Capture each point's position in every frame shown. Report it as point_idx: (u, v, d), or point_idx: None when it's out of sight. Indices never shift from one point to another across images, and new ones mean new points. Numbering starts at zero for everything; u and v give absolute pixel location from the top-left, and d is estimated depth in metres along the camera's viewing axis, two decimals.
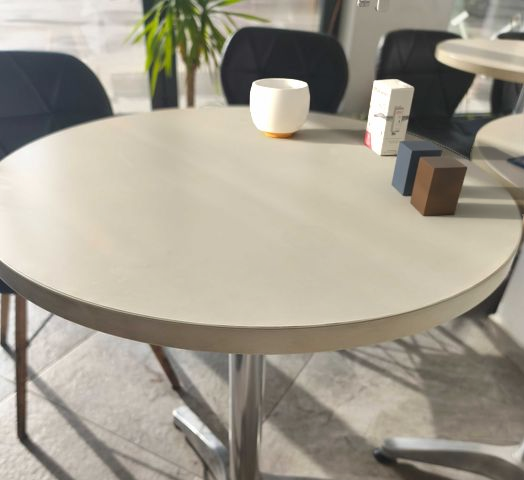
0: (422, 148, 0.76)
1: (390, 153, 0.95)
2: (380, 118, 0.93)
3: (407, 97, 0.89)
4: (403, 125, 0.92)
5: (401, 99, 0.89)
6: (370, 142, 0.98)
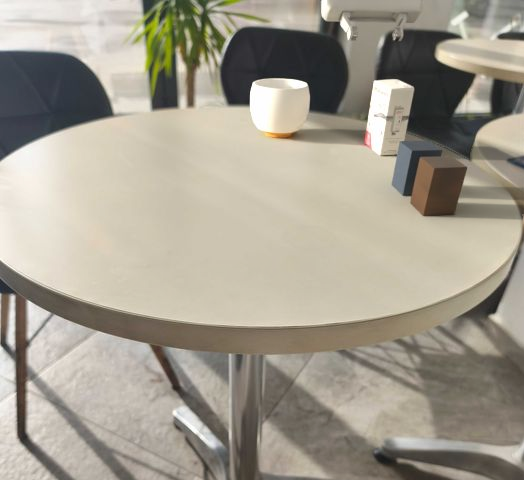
0: (422, 148, 0.76)
1: (390, 153, 0.95)
2: (380, 118, 0.93)
3: (407, 97, 0.89)
4: (403, 125, 0.92)
5: (401, 99, 0.89)
6: (370, 142, 0.98)
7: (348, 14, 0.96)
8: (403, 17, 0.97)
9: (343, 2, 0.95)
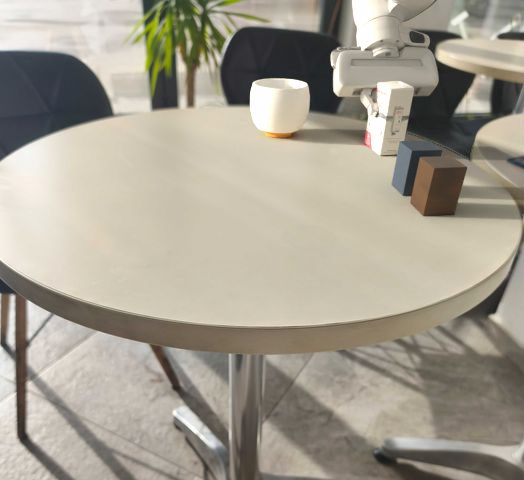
0: (422, 148, 0.76)
1: (390, 153, 0.95)
2: (380, 118, 0.93)
3: (407, 97, 0.89)
4: (403, 125, 0.92)
5: (400, 99, 0.89)
6: (370, 142, 0.98)
7: (369, 90, 0.93)
8: None
9: (356, 79, 0.92)
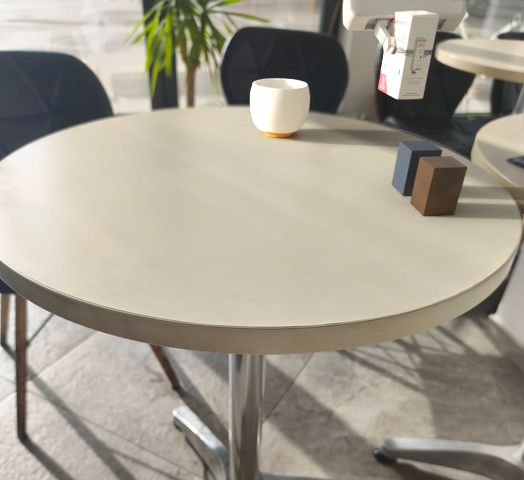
0: (422, 148, 0.76)
1: (409, 97, 0.82)
2: (398, 54, 0.79)
3: (431, 26, 0.76)
4: (425, 62, 0.79)
5: (423, 29, 0.76)
6: (385, 85, 0.85)
7: (385, 22, 0.79)
8: None
9: (370, 7, 0.79)
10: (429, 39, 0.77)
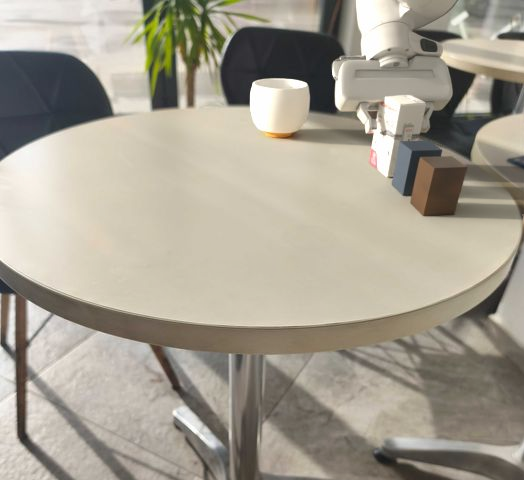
0: (422, 148, 0.76)
1: None
2: (387, 136, 0.83)
3: (418, 113, 0.80)
4: None
5: (411, 116, 0.80)
6: (376, 161, 0.89)
7: (366, 105, 0.83)
8: (429, 106, 0.85)
9: (361, 92, 0.83)
10: (416, 125, 0.81)
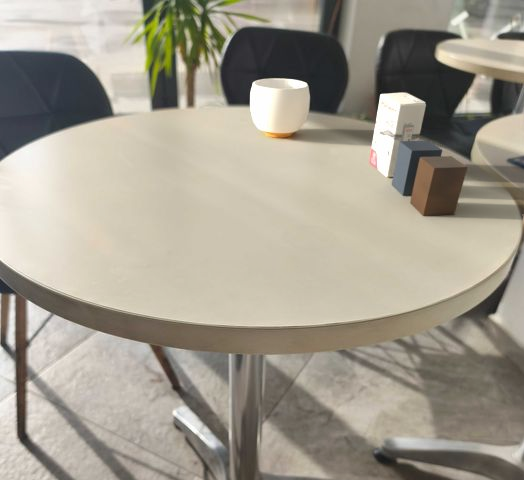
0: (422, 148, 0.76)
1: None
2: (387, 136, 0.83)
3: (418, 113, 0.80)
4: None
5: (411, 116, 0.80)
6: (376, 161, 0.89)
7: None
8: None
9: None
10: (416, 125, 0.81)
